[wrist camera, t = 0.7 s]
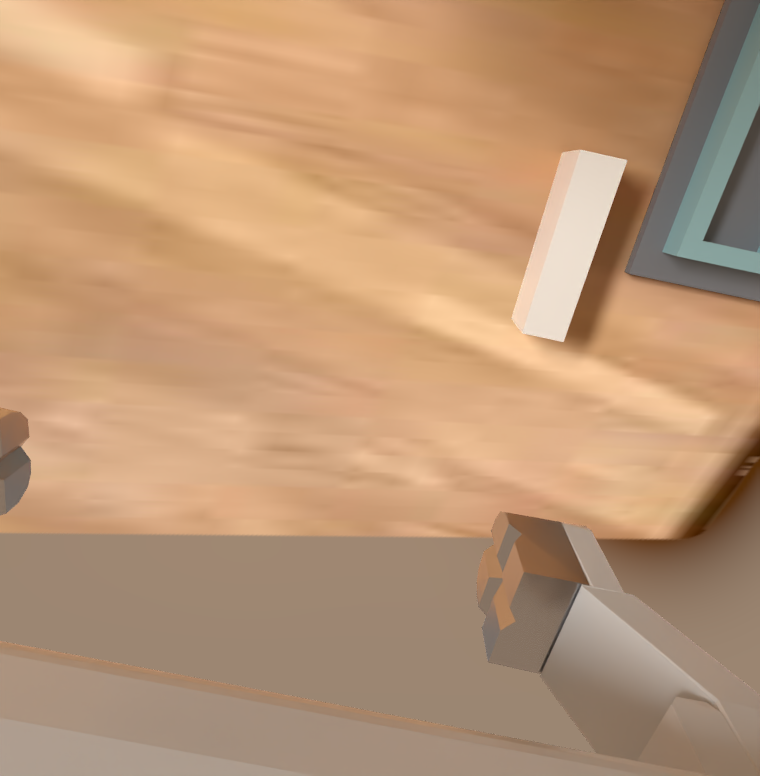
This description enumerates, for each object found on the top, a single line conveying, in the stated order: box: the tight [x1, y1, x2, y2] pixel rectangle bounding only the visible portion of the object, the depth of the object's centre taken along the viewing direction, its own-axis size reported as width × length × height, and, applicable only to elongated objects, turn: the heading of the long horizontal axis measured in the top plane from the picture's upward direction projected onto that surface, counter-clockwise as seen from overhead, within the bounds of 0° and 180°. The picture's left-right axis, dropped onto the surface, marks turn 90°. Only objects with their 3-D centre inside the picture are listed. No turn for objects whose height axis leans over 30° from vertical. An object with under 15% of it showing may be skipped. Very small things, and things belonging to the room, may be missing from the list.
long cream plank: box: [511, 150, 627, 342], centre depth 43 cm, size 14×4×5 cm, turn 168°
